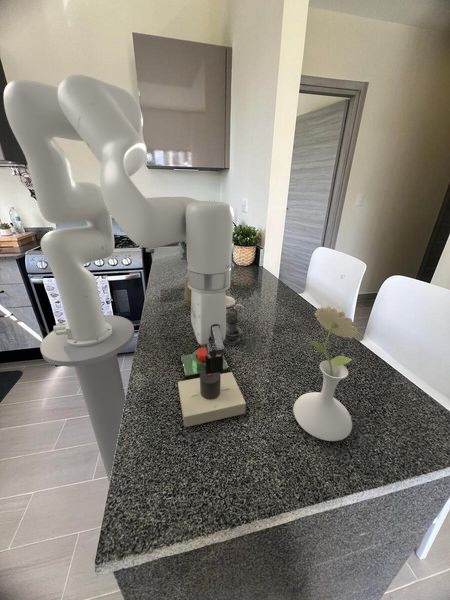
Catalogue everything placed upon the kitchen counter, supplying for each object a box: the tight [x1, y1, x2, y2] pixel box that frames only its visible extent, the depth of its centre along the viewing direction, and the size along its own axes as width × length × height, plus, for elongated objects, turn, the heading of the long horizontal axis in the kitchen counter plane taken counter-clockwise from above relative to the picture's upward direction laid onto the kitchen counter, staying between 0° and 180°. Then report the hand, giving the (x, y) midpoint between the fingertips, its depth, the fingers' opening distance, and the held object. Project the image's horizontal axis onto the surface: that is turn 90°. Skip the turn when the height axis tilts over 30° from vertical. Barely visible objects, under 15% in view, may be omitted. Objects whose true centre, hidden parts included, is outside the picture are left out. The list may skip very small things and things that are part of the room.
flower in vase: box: [293, 305, 359, 442], centre depth 48 cm, size 13×11×25 cm
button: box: [197, 347, 207, 361], centre depth 65 cm, size 4×4×2 cm
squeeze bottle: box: [183, 276, 192, 309], centre depth 96 cm, size 8×8×18 cm
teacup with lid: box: [226, 295, 245, 327], centre depth 85 cm, size 12×9×12 cm
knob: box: [200, 370, 221, 400], centre depth 54 cm, size 4×4×5 cm
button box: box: [180, 349, 230, 381], centre depth 66 cm, size 11×8×4 cm
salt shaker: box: [223, 306, 243, 346], centre depth 76 cm, size 6×6×12 cm
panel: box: [177, 371, 247, 428], centre depth 56 cm, size 13×10×3 cm
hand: (208, 356), depth 51 cm, fingers open, 9 cm apart
